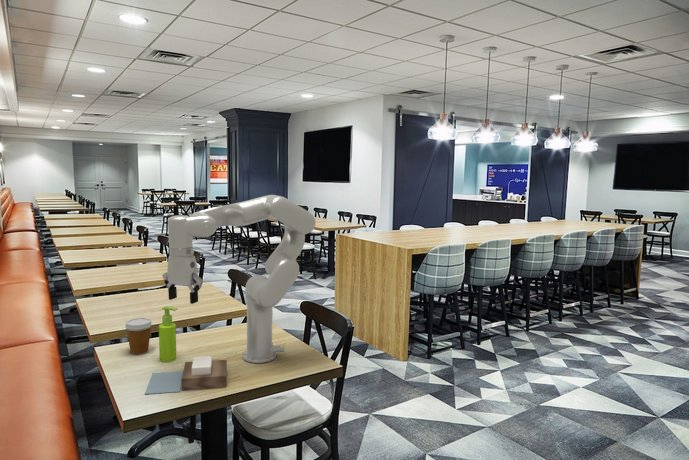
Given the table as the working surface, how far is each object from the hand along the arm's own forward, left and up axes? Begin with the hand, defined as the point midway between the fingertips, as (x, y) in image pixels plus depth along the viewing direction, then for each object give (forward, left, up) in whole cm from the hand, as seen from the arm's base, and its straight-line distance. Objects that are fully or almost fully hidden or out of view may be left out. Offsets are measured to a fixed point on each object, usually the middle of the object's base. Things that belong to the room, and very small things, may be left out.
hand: (183, 300), depth 163 cm
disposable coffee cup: (+19, -21, -26) cm, 38 cm away
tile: (-6, +8, -22) cm, 24 cm away
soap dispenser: (+7, -12, -26) cm, 29 cm away
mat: (+5, +8, -26) cm, 27 cm away
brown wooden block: (-7, +8, -26) cm, 28 cm away
